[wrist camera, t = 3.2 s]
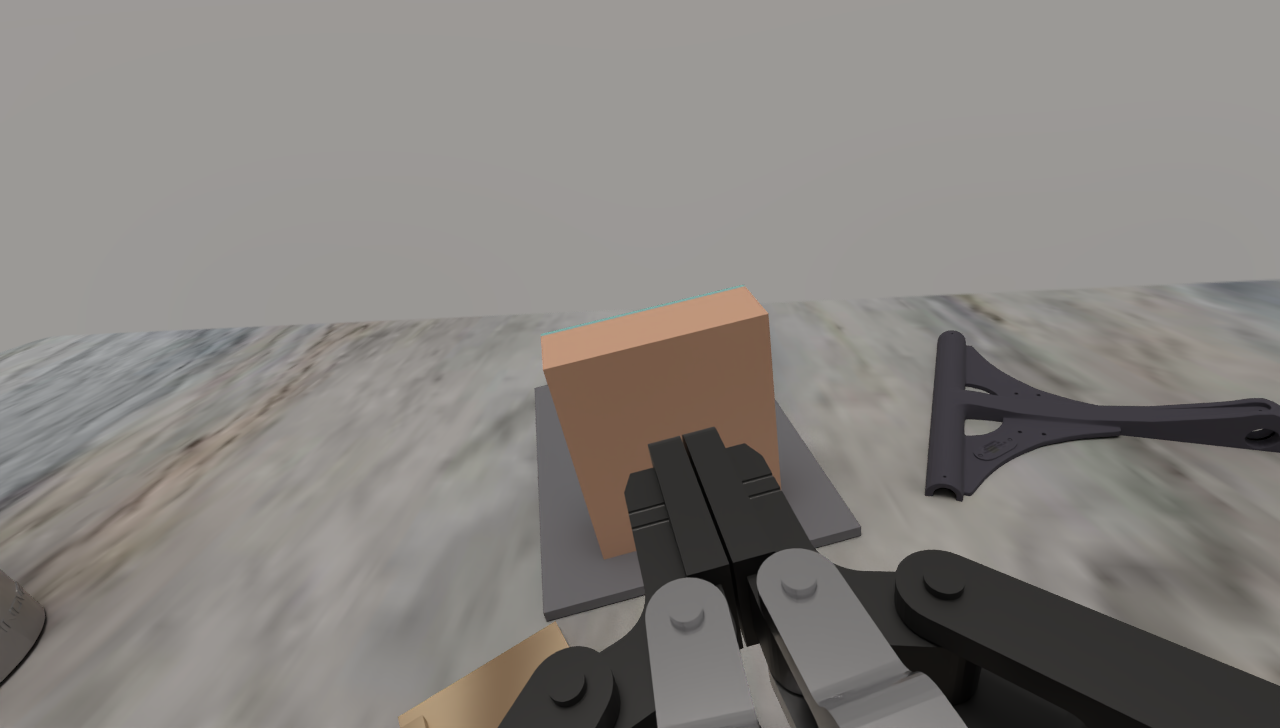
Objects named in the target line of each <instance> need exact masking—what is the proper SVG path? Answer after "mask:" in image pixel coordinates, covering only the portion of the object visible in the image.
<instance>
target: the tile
mask: <svg viewBox="0 0 1280 728" xmlns="http://www.w3.org/2000/svg"><path fill="white" fill-rule="evenodd" d="M541 345H542V360H543V371H544V374H545V377H546V380H547V383H548V387H549V390H550V393H551V396H552V399H553V402H554V405H555V408H556V412H557V415H558V418H559V421H560V424H561V427H562V430H563V434H564V437H565V440H566V443H567V446H568V449H569V452H570V455H571V459H572V462H573V465H574V468H575V471H576V474H577V477H578V480H579V484H580V487H581V490H582V493H583V496H584V499H585V502H586V505H587V509H588V512H589V515H590V518H591V521H592V524H593V527H594V531H595V534H596V537H597V540H598V543H599V546H600V549H601V552H602V556H603V559H604V560H605V559H608V558H612V557H616V556H619V555H623V554H627V553H631V552H634V551H636V547H635V542H634V537H633V533H632V528H631V523H630V519H629V514H628V509H627V505H626V500H625V495H624V491H625V488H626V485H627V482H628V478H629V475H630V474H631V473H634V472H638V471H642V470H646V469H649V468H653V466H652V461H651V457H650V453H649V449H648V444H650V443H654V442H657V441H661V440H665V439H669V438H673V437H676V436H680V437H681V439H682V435H683V434H687V433H691V432H695V431H699V430H702V429H706V428H710V427H715V428H716V429H717V431H718V433H719V436H720V438H721V440H722V442H723V444H724V446H725V448H728V447H732V446H735V445H739V444H743V443H745V444H747V445H748V446H750V447H751V448H752V449H754V450H755V451H757V452H758V453H759V454H761V455H762V456H763V458H764V459H765V461H766V463H767V465H768V467H769V468H770V470H771V472H772V475H773V477H775V479H776V481H777V483H778V484H779V486H780V489H781V480H780V466H779V452H778V439H777V425H776V412H775V398H774V385H773V371H772V358H771V344H770V330H769V317H768V313H767V312H766V310H765V309H764V308H763V307H762V306H761V305H760V303H759V302H758V301H757V300H756V299H755V298H754V297H753V295H752V294H751V293H750V292H749V290H748V289H747V288H746V287H745V286H744V285H740V286H736V287H732V288H727V289H724V290H719V291H715V292H711V293H707V294H703V295H699V296H695V297H691V298H687V299H683V300H679V301H674V302H671V303H666V304H662V305H658V306H654V307H650V308H646V309H642V310H638V311H633V312H629V313H625V314H621V315H617V316H613V317H609V318H605V319H601V320H597V321H593V322H589V323H585V324H580V325H576V326H572V327H568V328H564V329H560V330H556V331H552V332H548V333H544V334H541ZM682 442H683V441H682Z"/></svg>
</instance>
